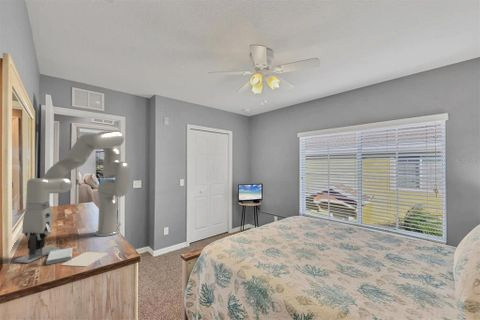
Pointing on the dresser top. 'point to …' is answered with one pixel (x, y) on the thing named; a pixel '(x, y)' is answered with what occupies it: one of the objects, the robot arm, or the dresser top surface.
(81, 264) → the board
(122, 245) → the dresser top surface
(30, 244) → the scraper
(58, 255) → the hard drive
